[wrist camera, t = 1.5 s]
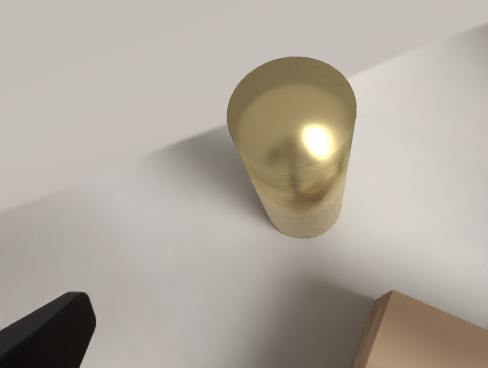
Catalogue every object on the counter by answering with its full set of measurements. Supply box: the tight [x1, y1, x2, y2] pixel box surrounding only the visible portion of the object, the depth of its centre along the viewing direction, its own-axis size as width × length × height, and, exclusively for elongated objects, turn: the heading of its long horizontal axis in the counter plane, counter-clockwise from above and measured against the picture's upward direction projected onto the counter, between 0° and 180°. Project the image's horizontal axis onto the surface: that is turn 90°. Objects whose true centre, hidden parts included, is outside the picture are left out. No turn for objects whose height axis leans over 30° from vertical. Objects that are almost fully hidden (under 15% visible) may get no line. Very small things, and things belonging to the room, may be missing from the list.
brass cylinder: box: [227, 57, 356, 239], centre depth 18 cm, size 4×4×10 cm
